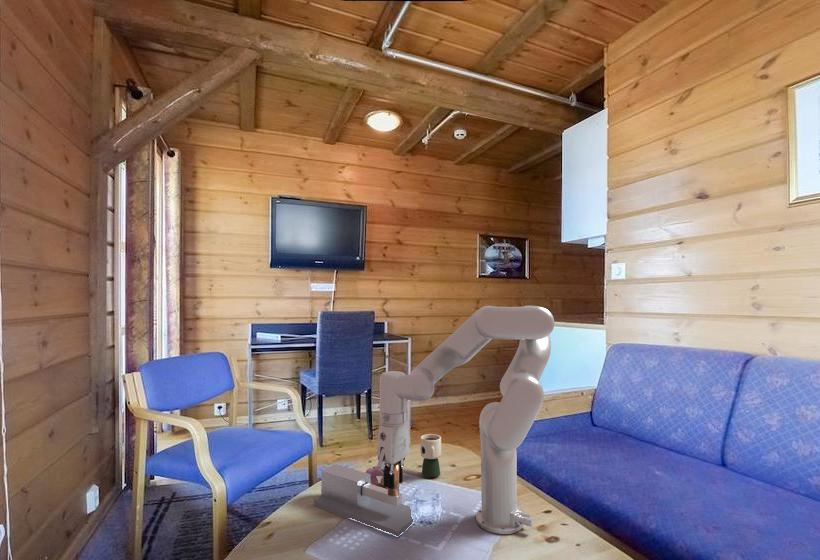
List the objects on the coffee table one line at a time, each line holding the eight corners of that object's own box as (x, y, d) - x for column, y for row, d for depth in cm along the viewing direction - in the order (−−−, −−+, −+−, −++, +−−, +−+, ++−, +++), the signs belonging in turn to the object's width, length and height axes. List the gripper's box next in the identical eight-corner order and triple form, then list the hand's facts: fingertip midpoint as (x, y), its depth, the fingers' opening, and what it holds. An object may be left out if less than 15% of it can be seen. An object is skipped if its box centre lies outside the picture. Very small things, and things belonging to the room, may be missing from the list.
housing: (370, 499, 119) (370, 474, 119) (357, 508, 114) (357, 482, 114) (335, 488, 126) (335, 463, 127) (321, 495, 121) (321, 470, 122)
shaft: (402, 502, 111) (402, 463, 112) (396, 507, 108) (396, 467, 109) (346, 483, 122) (346, 448, 123) (339, 488, 120) (339, 452, 120)
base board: (422, 516, 113) (422, 510, 113) (398, 538, 103) (398, 531, 103) (341, 489, 129) (341, 484, 129) (313, 505, 119) (313, 500, 119)
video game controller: (394, 490, 131) (395, 467, 135) (392, 490, 127) (393, 465, 131) (364, 489, 132) (366, 466, 136) (361, 488, 128) (363, 464, 132)
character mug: (419, 469, 144) (419, 432, 144) (438, 468, 144) (438, 431, 145) (422, 483, 133) (422, 443, 134) (443, 482, 134) (443, 442, 134)
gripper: (386, 427, 103) (386, 501, 102) (420, 412, 117) (420, 476, 116) (363, 422, 107) (363, 493, 106) (398, 408, 121) (398, 471, 120)
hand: (393, 484), depth 111 cm, fingers closed on shaft, 3 cm apart
